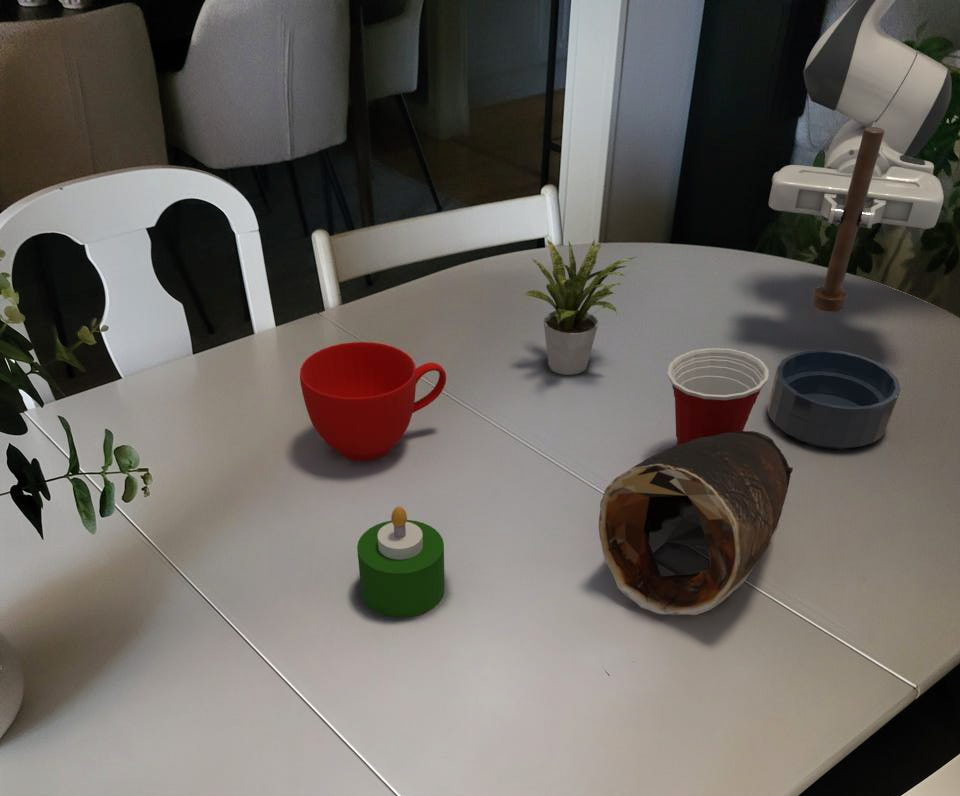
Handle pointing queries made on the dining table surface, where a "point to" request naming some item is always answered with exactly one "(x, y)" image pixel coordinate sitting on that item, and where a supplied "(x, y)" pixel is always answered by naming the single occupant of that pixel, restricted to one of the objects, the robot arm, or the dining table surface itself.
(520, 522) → the dining table surface
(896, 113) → the robot arm
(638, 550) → the brown hollow cylinder
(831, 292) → the stirring stick
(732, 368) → the plastic cup
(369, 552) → the candle
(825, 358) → the bowl
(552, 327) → the house plant
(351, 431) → the ceramic cup
